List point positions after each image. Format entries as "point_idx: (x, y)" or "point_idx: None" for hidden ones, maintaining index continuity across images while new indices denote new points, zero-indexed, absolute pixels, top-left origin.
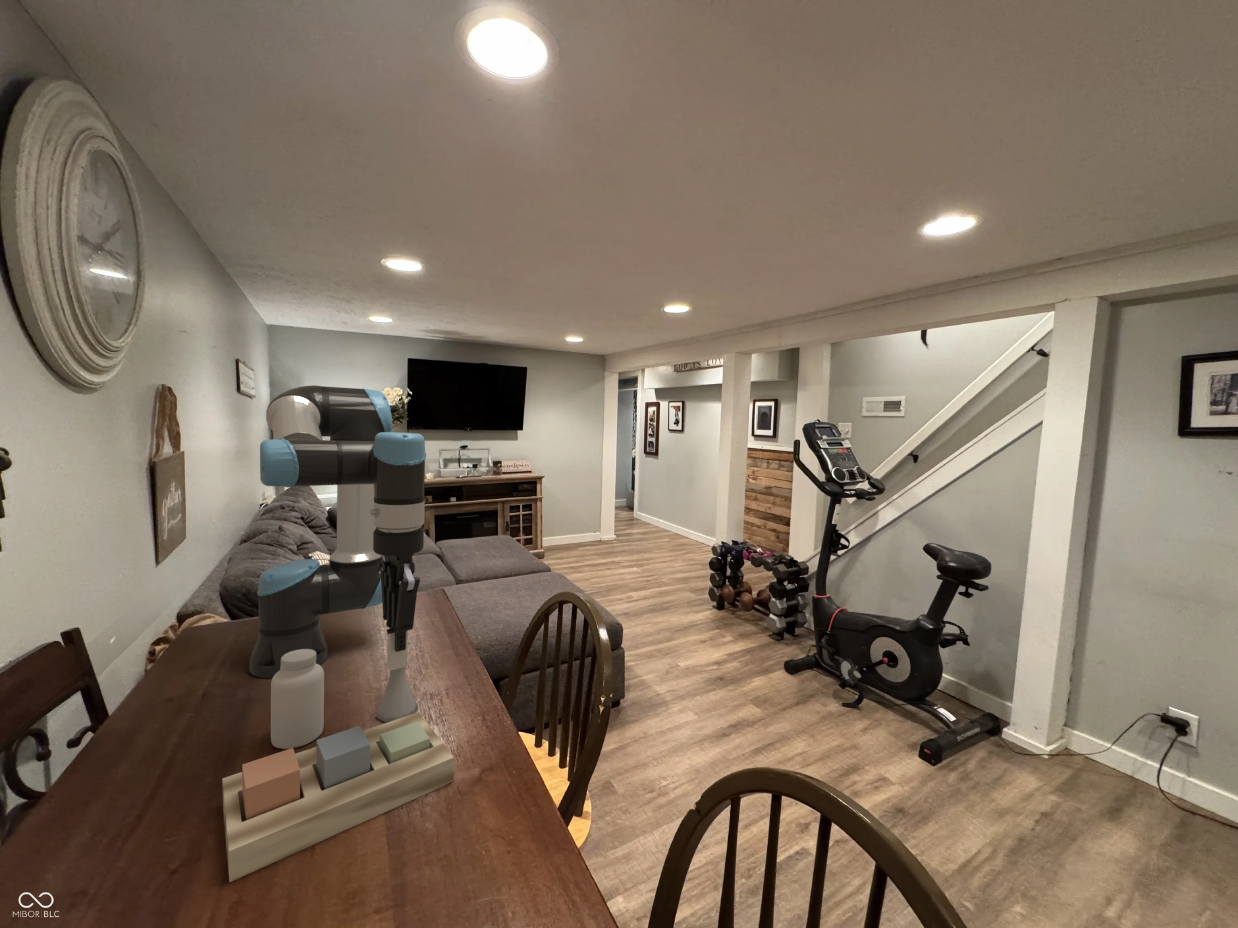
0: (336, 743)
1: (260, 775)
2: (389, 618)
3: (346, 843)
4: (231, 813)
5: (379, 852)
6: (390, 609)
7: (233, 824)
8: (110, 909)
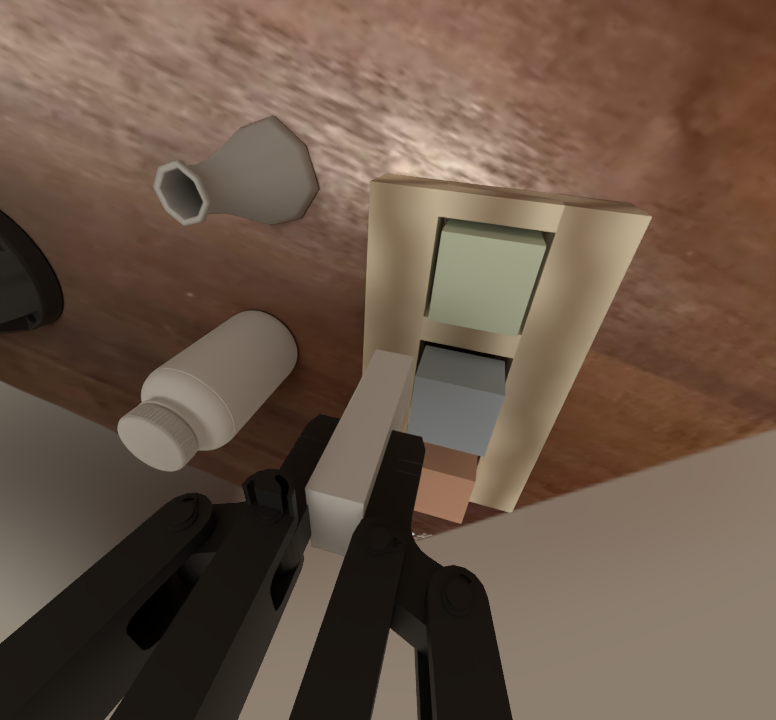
0: (445, 425)
1: (444, 506)
2: (281, 612)
3: (577, 400)
4: None
5: (647, 384)
6: (244, 690)
7: None
8: (455, 522)
